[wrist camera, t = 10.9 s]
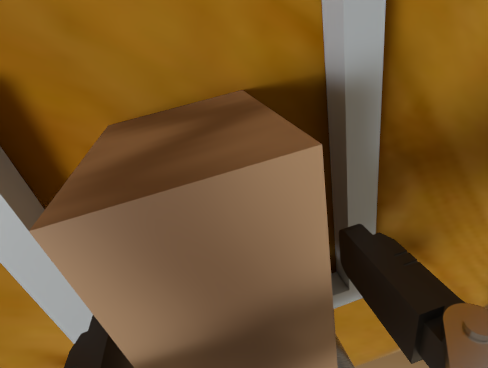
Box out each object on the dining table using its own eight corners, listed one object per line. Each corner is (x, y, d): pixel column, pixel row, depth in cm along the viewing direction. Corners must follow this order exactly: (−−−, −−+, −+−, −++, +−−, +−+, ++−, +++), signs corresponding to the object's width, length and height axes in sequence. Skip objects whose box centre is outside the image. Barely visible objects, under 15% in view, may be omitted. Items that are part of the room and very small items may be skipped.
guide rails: (360, -12, 11) (386, -19, 9) (358, 276, 19) (373, 294, 17) (-96, 96, 9) (-142, 106, 8) (118, 361, 17) (114, 388, 16)
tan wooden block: (242, 89, 11) (322, 144, 5) (276, 260, 16) (339, 390, 10) (108, 125, 11) (29, 231, 5) (186, 291, 16) (196, 447, 10)
